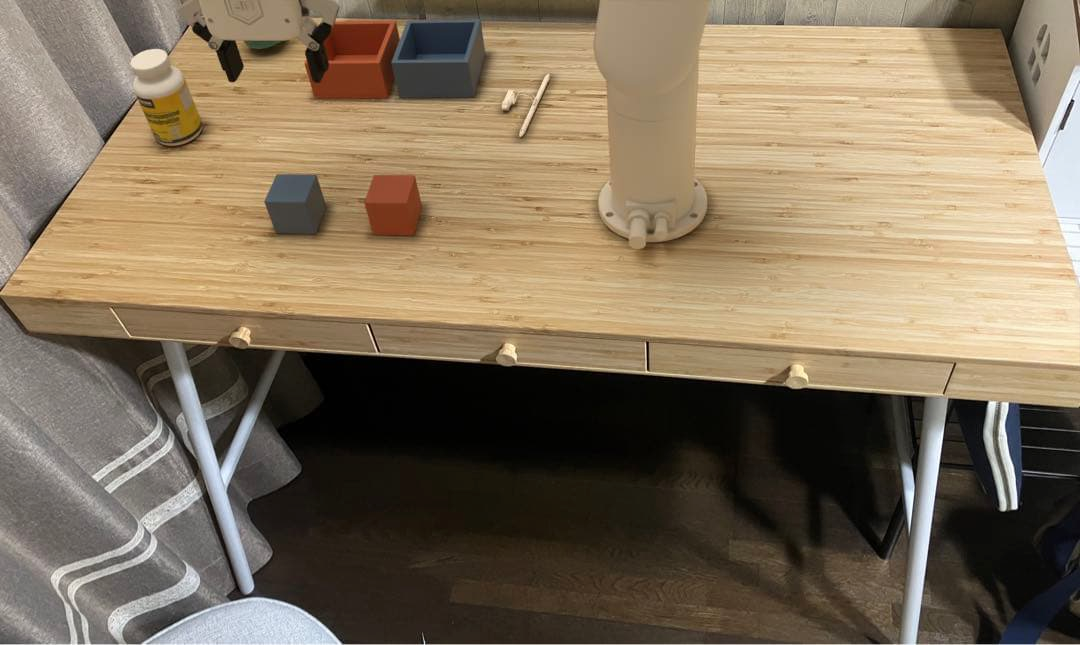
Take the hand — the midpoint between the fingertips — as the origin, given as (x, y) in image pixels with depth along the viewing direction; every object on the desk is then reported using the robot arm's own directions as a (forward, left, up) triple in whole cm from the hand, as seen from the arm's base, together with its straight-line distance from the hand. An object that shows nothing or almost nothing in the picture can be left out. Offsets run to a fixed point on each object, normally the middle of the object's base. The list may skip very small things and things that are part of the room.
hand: (278, 75), depth 111 cm
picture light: (+19, -23, -18) cm, 35 cm away
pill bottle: (+13, +23, -18) cm, 32 cm away
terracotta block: (-4, -11, -18) cm, 21 cm away
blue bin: (+26, -11, -18) cm, 33 cm away
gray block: (-4, +1, -18) cm, 18 cm away
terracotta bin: (+26, +1, -18) cm, 32 cm away
